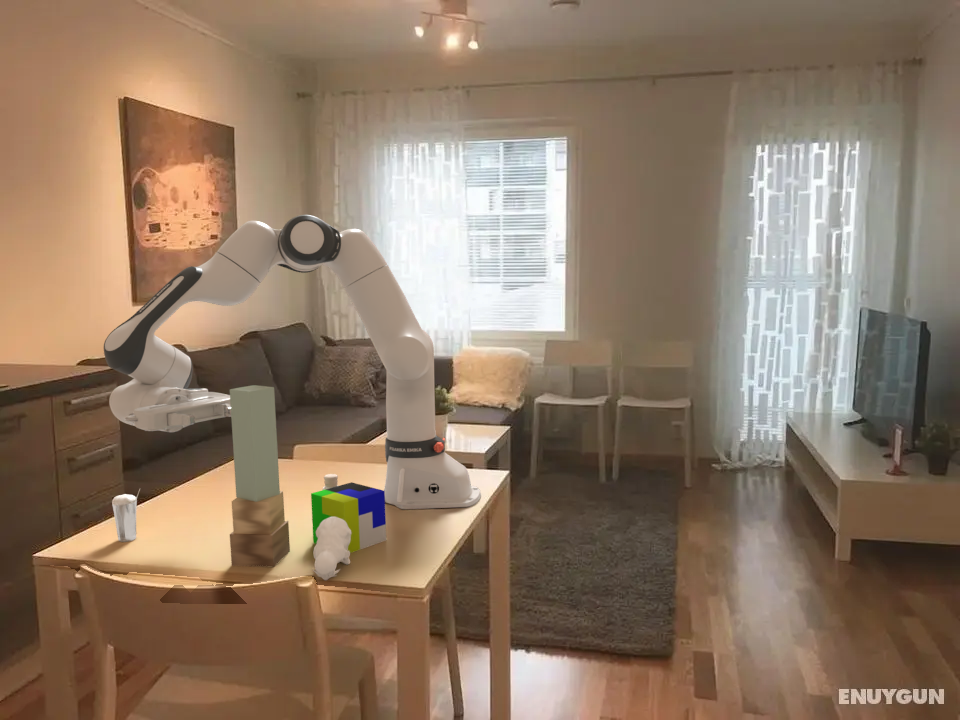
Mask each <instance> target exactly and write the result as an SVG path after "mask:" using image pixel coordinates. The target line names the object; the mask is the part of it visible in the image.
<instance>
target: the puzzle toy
mask: <svg viewBox="0 0 960 720" xmlns="http://www.w3.org/2000/svg"><path fill="white" fill-rule="evenodd" d="M310 497H311V498H310V501H311V521H312V539H313V541H312V543H313V544H315V545H316V544H317V540H318V538H317V536H316V530H317V528H318V527H319V525H320V523H321V522H322V521H323V520H325V519H327V518H329V517H338V518H340V519H343V520H344V521H345V522H346V523H347V525H348V527H349V529H350V530H351V540H350V544H349V545H348V550H349V551H350V554H351V553H355V552H356V551H360V550H364V549H367V548H368V547H372V546H373V545H377V544H380V543H383V542H386V541H387V523H386V521H387V520H386V502H385V491H384V489H380V488H375V487H371V486H368V485H362V484H360V483H355V482H353V481H352V482H351V481H350V482H348V483H345V484H341V485H337V486H336V487H333V488H329V489H325V490H319V491H315V492H312V493H310ZM348 550H347V551H348Z"/></svg>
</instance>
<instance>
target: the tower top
mask: <svg viewBox="0 0 960 720" xmlns="http://www.w3.org/2000/svg"><path fill="white" fill-rule="evenodd" d="M284 501H285V499H284V490H280V494H279V495H276V496H273V497H270V498H267V499H264V500H260V501H257V502H255V501H251V500H246V499H242V498H237V497H236V498H234V499H232V500H231V513H232V514H231V515H232V526H233V527H232V528H233V529H232V532H234V534H272V533H273V532H274V531H275V530H276V529H277V528H278V527H280V526H281V525H282V524H283V523H284V522H285V521H286V520H285V519H286V517H285V502H284Z"/></svg>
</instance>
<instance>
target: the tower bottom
mask: <svg viewBox="0 0 960 720" xmlns="http://www.w3.org/2000/svg"><path fill="white" fill-rule="evenodd" d="M229 541H230V542H229V544H230V561H231V562H230V563H231V566H232V567H233V566H234V567H263V568H264V567H265V568H266V567H267V568H274V567H276V565H278V563H280V562H281V560H283V558H285V557H286V556H287V555H288V554H289V553H290V552H291V545H290V525H289V521H288V520H285V522H284V523H283V524H282V525H281V526H280V527H278V528H277V529H276V530H275V531H274V532H273V533H272V534H234V532H233V531H232V532H230V534H229Z"/></svg>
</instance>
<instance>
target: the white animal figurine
mask: <svg viewBox="0 0 960 720" xmlns="http://www.w3.org/2000/svg"><path fill="white" fill-rule="evenodd" d="M316 536H317V538H318V540H317V544H315V546H314V547H313V551H312V552H313V553H312V554H313V558H314V559H315V561H314V569H312V571H313V572H314V573H315V575H316V576H317V577H319V578H321V579H323V580H324V581H328V580H329V579H330V578H332V577H333V578H334V577H336V575H337V574H338V573H339V572H340V571H341V568H339V569H336V568H337V564H339V563H340V562H341V563H342V564H344V565H350V563H351V560H350V555H351V553H350V551H349V550H348V545H349V544H350V540H351V530H350V529H349V527H348V525H347V523H346V522H345V521H344V520H343V519H340V518H338V517H329V518H327V519H325V520H323V521H322V522H321V523H320V525H319V527H318V528H317V530H316ZM347 550H348V551H347Z"/></svg>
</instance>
